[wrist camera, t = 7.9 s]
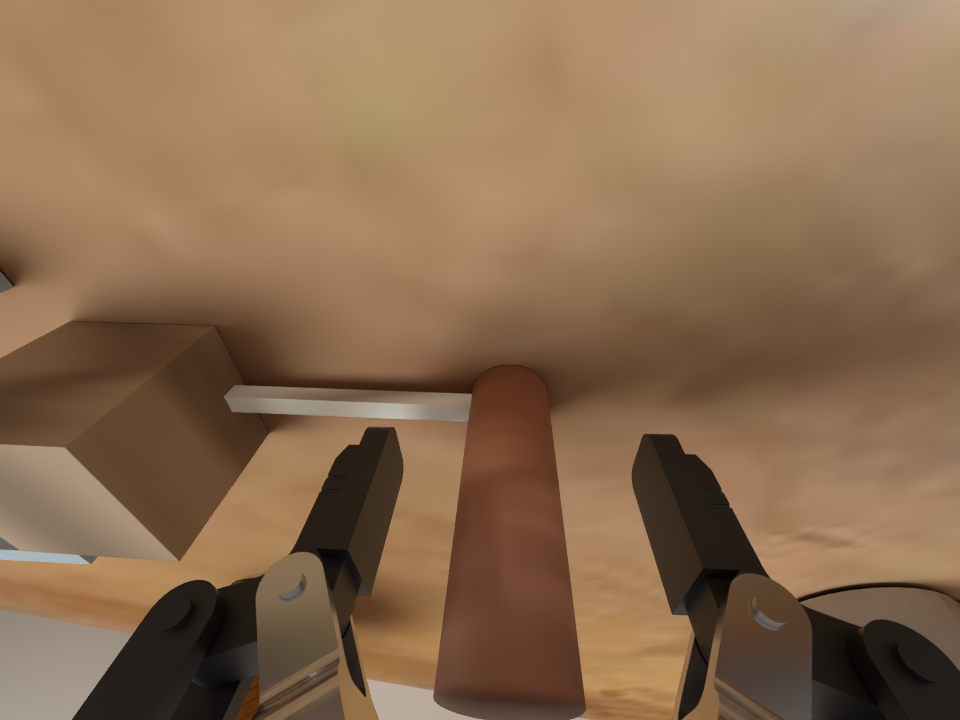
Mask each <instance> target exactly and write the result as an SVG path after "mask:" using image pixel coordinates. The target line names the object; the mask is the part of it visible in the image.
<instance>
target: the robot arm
mask: <svg viewBox="0 0 960 720" xmlns="http://www.w3.org/2000/svg"><path fill="white" fill-rule="evenodd" d="M402 477H403V458H402V454H401V450H400V446H399V442H398V438H397V434H396V430H395V428H393V427H368V428H367V429H366V430H365V432H364V435H363V437H362V440H361V442H360V444H359V445H348V446H347V447H346V448H345V449H344V450H343V452H342V453H341V454H340V455H339V456H338V457H337V458H336V459H335V461H334V463H333V465H332V467H331V470H330V472H329V474H328V478H327V479H326V480H325V482H324V484H323V487H322V491H321V492H320V493H319V495H318V497H317V499H316V502H315V504H314V506H313V508H312V510H311V512H310V514H309V517H308V519H307V521H306V523H305V525H304V527H303V529H302V531H301V534H300V536H299V538H298V540H297V542H296V544H295V546H294V548H293V550H292V551H291V552H290V554H289V555H288V556H286V557H284V558H282V559H281V560H279V561H278V562H276V563H275V564H274V565H273V566H272V567H271V568H270V569H269V570H268V571H267V572H266V574H264V575H262V576H260V577H257V578H254V579H250V580H247V581H244V582H240V583H237V584H233V585H230V586H226V587H223V588H220V589H216V588H215V587H214V586H213V585H212V584H211V583H210V582H208V581H204V580H194V581H189V582H186V583H184V584H181V585H179V586H177V587H176V588H174V589H172V590H171V591H169V592H168V593H167V594H165V595H164V596H163V597H162V598H161V599H160V600H159V601H158V602H157V603H156V604H155V605H154V606H153V607H152V608H151V610H150V611H149V612H148V614H147V615H146V616H145V618H144V619H143V621H142V622H141V623H140V625H139V626H138V628H137V629H136V630H135V632H134V633H133V635H132V636H131V637H130V639H129V640H128V642H127V643H126V644H125V646H124V647H123V649H122V650H121V652H120V653H119V654H118V656H117V657H116V658H115V660H114V661H113V663H112V664H111V665H110V667H109V668H108V670H107V671H106V673H105V674H104V675H103V677H102V678H101V680H100V681H99V682H98V684H97V685H96V687H95V688H94V690H93V691H92V692H91V694H90V695H89V696H88V698H87V699H86V701H85V702H84V704H83V705H82V706H81V708H80V709H79V710H78V712H77V713H76V715H75V716H74V718H73V719H72V720H235V719H236V717H237V715H238V712H239V710H240V708H241V706H242V704H243V701H244V699H245V697H246V695H247V692H248V690H249V688H250V686H251V684H252V681H253V679H254V677H255V676H256V675H259V690H260V702H259V708H258V711H257V712H256V713H255V714H254V715H253V717H252V719H251V720H379V719H378V716H377V713H376V710H375V708H374V705H373V702H372V699H371V695H370V691H369V687H368V683H367V678H366V674H365V670H364V665H363V661H362V656H361V652H360V648H359V643H358V639H357V634H356V630H355V626H354V621H353V617H352V611H353V607H354V604H355V601H356V597H357V595H361V596H370V595H371V592H372V588H373V584H374V581H375V577H376V573H377V570H378V566H379V562H380V559H381V555H382V551H383V548H384V544H385V540H386V537H387V533H388V529H389V526H390V522H391V518H392V515H393V511H394V507H395V504H396V500H397V496H398V493H399V489H400V486H401V482H402ZM632 484H633V489H634V493H635V496H636V499H637V502H638V506H639V509H640V512H641V515H642V518H643V522H644V525H645V528H646V531H647V535H648V538H649V541H650V544H651V548H652V551H653V554H654V557H655V561H656V564H657V567H658V570H659V574H660V577H661V580H662V583H663V586H664V590H665V593H666V596H667V599H668V603H669V606H670V609H671V612H672V615H688V616H689V619H690V622H691V625H692V628H693V631H692V632H691V635H690V639H689V643H688V648H687V652H686V656H685V661H684V665H683V670H682V674H681V679H680V683H679V687H678V692H677V696H676V701H675V705H674V710H673V714H672V718H671V720H960V603H959V602H957V601H955V600H954V599H952V598H951V597H949V596H947V595H944V594H941V593H938V592H935V591H930V590H924V589H918V588H901V587H887V588H868V589H858V590H849V591H844V592H838V593H833V594H827V595H823V596H819V597H816V598H812V599H808V600H805V601H802V602H799V601H798V600H797V599H796V598H795V597H794V596H793V595H792V594H791V593H790V592H789V591H788V590H787V589H786V588H784V587H783V586H782V585H780V584H779V583H777V582H775V581H774V580H772V579H771V578H770V577H769V576H768V574H767V573H766V572H765V570H764V568H763V567H762V565H761V563H760V561H759V559H758V557H757V555H756V553H755V551H754V550H753V548H752V546H751V544H750V542H749V540H748V538H747V536H746V534H745V533H744V531H743V529H742V527H741V525H740V523H739V521H738V519H737V517H736V515H735V514H734V512H733V510H732V508H730V507H729V505H730V504H729V502H728V500H727V498H726V497H725V495H724V493H722V491H721V487H720V485H719V483H718V481H717V480H716V478H715V476H714V474H713V472H712V470H711V469H710V468H709V467H708V466H707V465H706V464H705V463H704V462H703V461H702V460H701V459H699V458H698V457H697V456H696V455H693V454H685V453H684V451H683V449H682V447H681V445H680V443H679V441H678V439H677V437H676V436H675V435H672V434H644V435H643V437H642V440H641V443H640V446H639V449H638V452H637V455H636V458H635V461H634V464H633V468H632Z"/></svg>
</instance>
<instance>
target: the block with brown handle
mask: <svg viewBox="0 0 960 720" xmlns="http://www.w3.org/2000/svg"><path fill="white" fill-rule="evenodd" d="M259 413H270V414H294V415H318V416H342V417H366V418H390V419H414V420H438V421H463V422H468V427H467V434H466V442H465V450H464V458H463V466H462V474H461V482H460V490H459V498H458V506H457V514H456V522H455V530H454V538H453V546H452V553H451V561H450V569H449V577H448V585H447V593H446V601H445V609H444V617H443V625H442V633H441V641H440V649H439V657H438V664H437V672H436V680H435V688H434V700H435V702H436V703H437V704H439V705H440V706H441V707H443V708H445V709H448V710H450V711H452V712H455V713H458V714H461V715H465V716H469V717H473V718H478V719H484V720H570V719H573V718H576V717H579V716H580V715H582V714H583V713H584V712H585V710H586V706H585V697H584V689H583V681H582V673H581V664H580V656H579V648H578V640H577V631H576V623H575V615H574V607H573V599H572V590H571V582H570V574H569V566H568V557H567V549H566V541H565V533H564V525H563V516H562V508H561V500H560V492H559V483H558V475H557V467H556V459H555V450H554V442H553V434H552V426H551V418H550V409H549V401H548V393H547V388H546V385H545V383H544V381H543V380H542V378H541V377H540V376H539V375H537V374H536V373H535V372H533V371H531V370H529V369H527V368H524V367H521V366H515V365H504V366H498V367H494V368H492V369H489V370H487V371H486V372H484V373H483V374H481V375H480V376H479V377H478V378H477V380H476V381H475V383H474V385H473V388H472V394H460V393H434V392H407V391H380V390H353V389H326V388H299V387H272V386H245V384H244V382H243V380H242V378H241V376H240V374H239V372H238V370H237V368H236V366H235V364H234V362H233V360H232V358H231V356H230V354H229V352H228V350H227V348H226V346H225V344H224V342H223V340H222V338H221V336H220V334H219V332H218V330H217V328H216V326H209V325H173V324H136V323H100V322H68V323H66V324H64V325H62V326H60V327H59V328H57V329H55V330H53V331H51V332H49V333H47V334H45V335H44V336H42V337H40V338H38V339H36V340H34V341H32V342H30V343H28V344H27V345H25V346H23V347H21V348H19V349H17V350H15V351H13V352H12V353H10V354H8V355H6V356H4V357H2V358H0V537H1V538H2V539H4V540H5V541H7V542H8V543H10V544H11V545H13V546H14V547H16V548H17V549H19V550H20V551H27V552H42V553H58V554H73V555H88V556H103V557H118V558H133V559H148V560H163V561H178V562H180V560H181V559H182V557H183V556H184V555H185V553H186V552H187V550H188V549H189V547H190V546H191V544H192V543H193V542H194V540H195V539H196V537H197V536H198V534H199V533H200V532H201V530H202V529H203V527H204V526H205V524H206V523H207V522H208V520H209V519H210V517H211V516H212V514H213V513H214V511H215V510H216V509H217V507H218V506H219V504H220V503H221V501H222V500H223V499H224V497H225V496H226V494H227V493H228V491H229V490H230V489H231V487H232V486H233V484H234V483H235V481H236V480H237V478H238V477H239V476H240V474H241V473H242V471H243V470H244V468H245V467H246V466H247V464H248V463H249V461H250V460H251V458H252V457H253V455H254V454H255V453H256V451H257V450H258V448H259V447H260V445H261V444H262V443H263V441H264V440H265V438H266V437H267V435H268V434H269V432H268V430H267V428H266V426H265V424H264V422H263V420H262V418H261V416H260V414H259Z"/></svg>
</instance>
